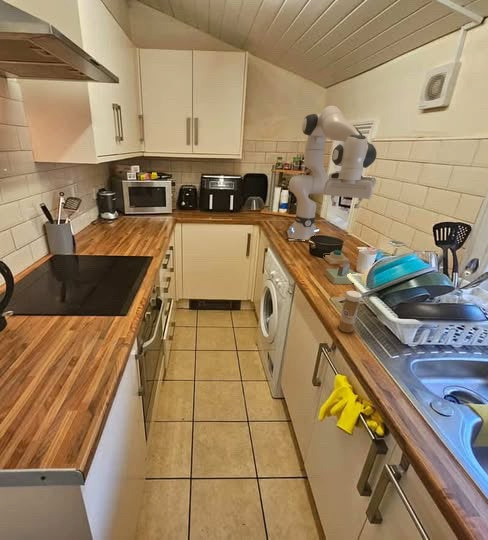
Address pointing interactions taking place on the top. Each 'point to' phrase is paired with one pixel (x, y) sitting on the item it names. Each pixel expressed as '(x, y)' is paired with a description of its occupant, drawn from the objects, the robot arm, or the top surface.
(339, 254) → the button
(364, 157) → the robot arm
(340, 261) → the switch block
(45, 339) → the top surface
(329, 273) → the tap plate
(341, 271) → the spout
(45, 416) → the top surface
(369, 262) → the white cup
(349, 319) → the sprinkles bottle
